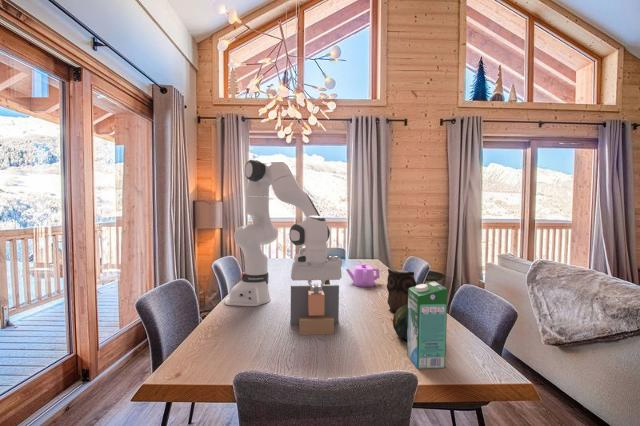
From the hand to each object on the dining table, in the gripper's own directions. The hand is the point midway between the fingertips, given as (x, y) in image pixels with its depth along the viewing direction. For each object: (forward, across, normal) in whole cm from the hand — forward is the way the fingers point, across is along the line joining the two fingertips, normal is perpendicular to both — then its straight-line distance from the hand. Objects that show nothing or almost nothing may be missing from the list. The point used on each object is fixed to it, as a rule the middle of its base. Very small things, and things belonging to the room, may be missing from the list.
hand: (316, 290), depth 127 cm
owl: (+15, -43, -16) cm, 48 cm away
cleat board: (+15, 0, -2) cm, 15 cm away
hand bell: (+15, -7, -19) cm, 25 cm away
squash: (+16, -36, +12) cm, 41 cm away
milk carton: (+15, -33, +29) cm, 46 cm away
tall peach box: (+9, 0, 0) cm, 9 cm away
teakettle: (+15, -35, -67) cm, 77 cm away
